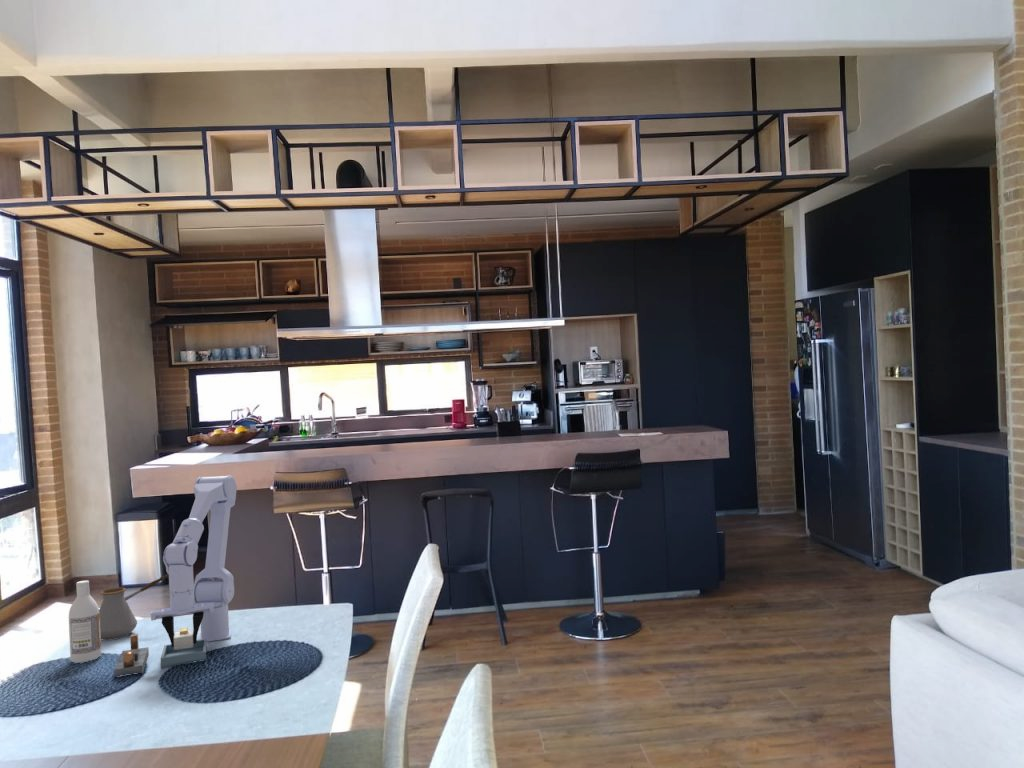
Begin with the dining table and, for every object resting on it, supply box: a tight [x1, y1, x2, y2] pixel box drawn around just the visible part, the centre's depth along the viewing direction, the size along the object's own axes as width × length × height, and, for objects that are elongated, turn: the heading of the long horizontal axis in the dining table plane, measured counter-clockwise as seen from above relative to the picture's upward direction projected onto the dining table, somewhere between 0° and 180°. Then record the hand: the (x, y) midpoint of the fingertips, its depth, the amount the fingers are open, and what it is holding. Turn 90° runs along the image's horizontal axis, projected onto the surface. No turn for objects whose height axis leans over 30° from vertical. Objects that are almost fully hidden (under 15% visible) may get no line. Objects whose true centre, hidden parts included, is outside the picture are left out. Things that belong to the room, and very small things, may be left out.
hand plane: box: [113, 633, 150, 677], centre depth 190 cm, size 15×6×6 cm, turn 20°
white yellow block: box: [174, 627, 194, 650], centre depth 195 cm, size 6×4×4 cm
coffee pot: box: [99, 573, 169, 641], centre depth 220 cm, size 21×12×15 cm, turn 125°
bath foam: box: [68, 579, 102, 663], centre depth 197 cm, size 7×7×20 cm
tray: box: [160, 639, 208, 669], centre depth 194 cm, size 11×10×2 cm
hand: (184, 644), depth 194 cm, fingers closed on white yellow block, 4 cm apart
